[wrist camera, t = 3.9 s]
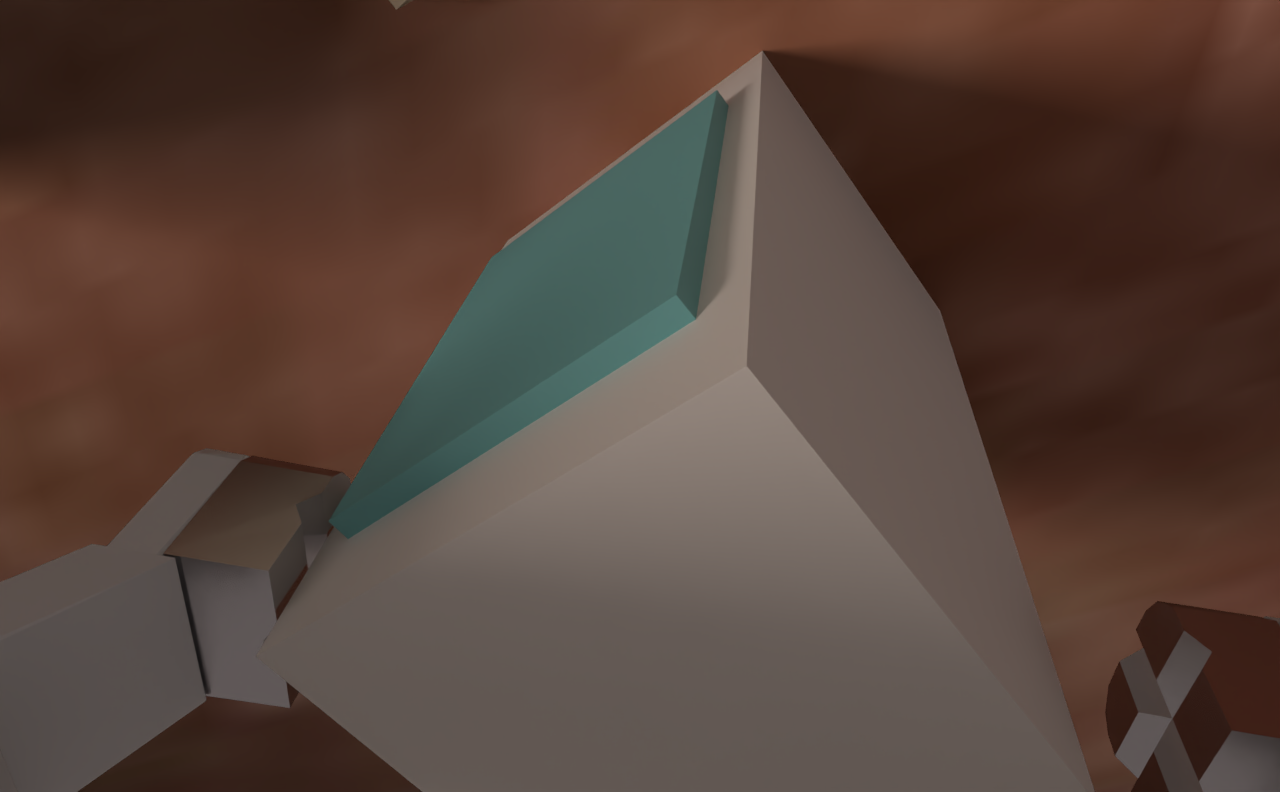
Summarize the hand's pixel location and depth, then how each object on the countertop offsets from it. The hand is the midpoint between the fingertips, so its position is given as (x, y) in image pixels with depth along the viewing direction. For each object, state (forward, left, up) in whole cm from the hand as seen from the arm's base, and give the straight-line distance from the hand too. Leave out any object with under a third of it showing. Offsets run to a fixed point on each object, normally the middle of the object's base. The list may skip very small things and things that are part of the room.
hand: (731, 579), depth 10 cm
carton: (0, +1, -7) cm, 7 cm away
